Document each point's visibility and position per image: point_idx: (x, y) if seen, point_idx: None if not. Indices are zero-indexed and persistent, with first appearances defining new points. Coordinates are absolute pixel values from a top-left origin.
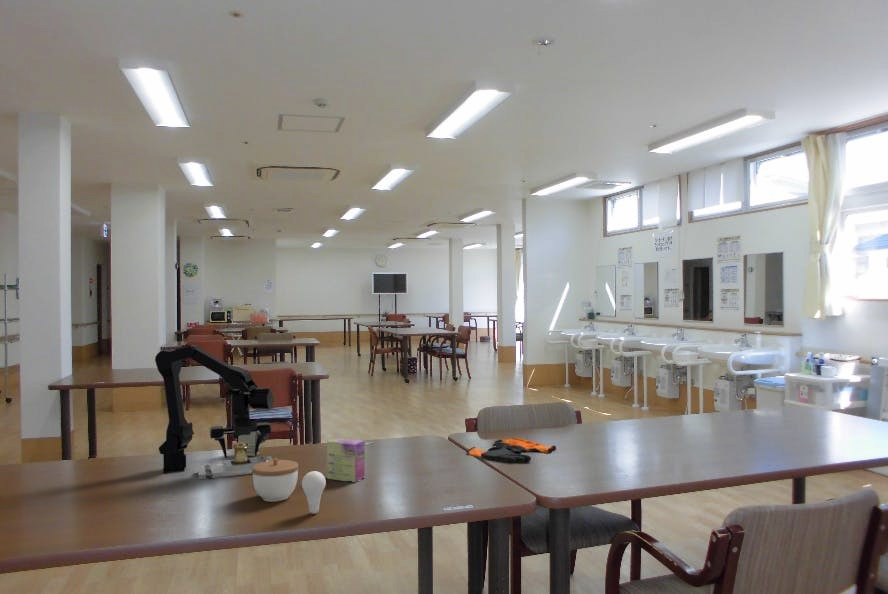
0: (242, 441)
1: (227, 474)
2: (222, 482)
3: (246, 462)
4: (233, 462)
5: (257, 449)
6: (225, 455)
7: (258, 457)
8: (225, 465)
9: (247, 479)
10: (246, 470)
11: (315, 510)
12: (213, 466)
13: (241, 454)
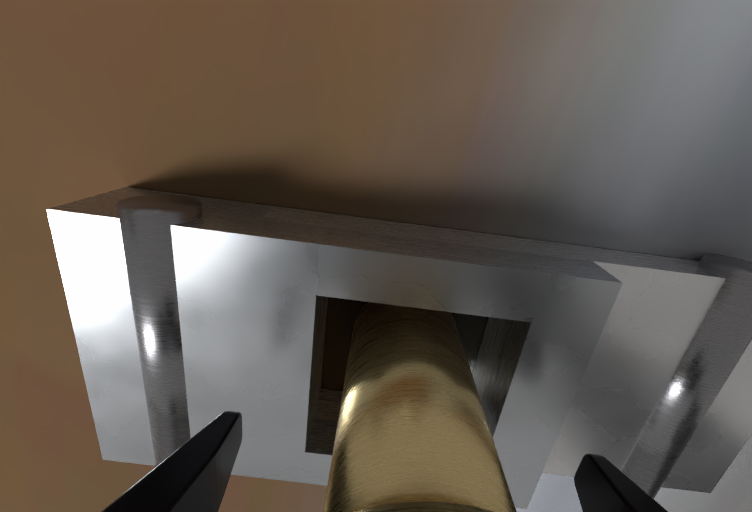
0: None
1: (564, 247)
2: (694, 42)
3: (358, 355)
4: None
5: (164, 464)
6: (625, 483)
7: None
8: (592, 348)
9: (431, 8)
10: (386, 232)
11: None
12: None
13: (429, 418)
